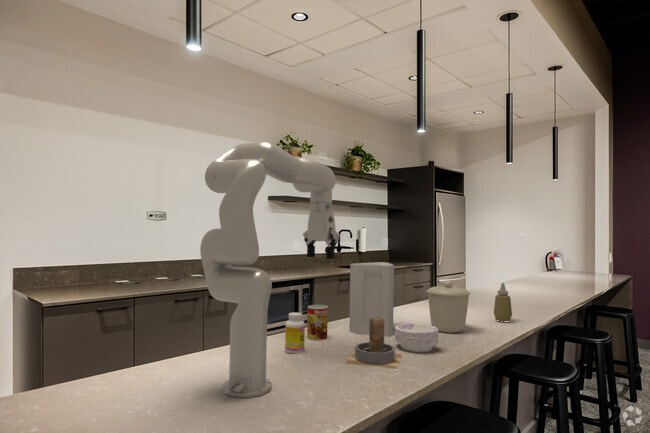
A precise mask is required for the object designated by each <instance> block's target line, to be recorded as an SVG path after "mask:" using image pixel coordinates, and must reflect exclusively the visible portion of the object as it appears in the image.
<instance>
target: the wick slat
mask: <svg viewBox="0 0 650 433" xmlns="http://www.w3.org/2000/svg"><path fill="white" fill-rule="evenodd" d="M368 336H369V339H368V341H369V352H375V351H378V350H382V349H384V343H385V336H384V318H379V317H377V318H373V319H370V326H369V335H368Z"/></svg>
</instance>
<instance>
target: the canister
mask: <svg viewBox="0 0 650 433" xmlns="http://www.w3.org/2000/svg"><path fill="white" fill-rule="evenodd" d="M425 292H426V293H427V296H428V297H427V298H428V308H429V317H430V323H431V326H434V327H436V328H438V331H439V332H441V333H447V334H453V333H454V334H456V333H461V332H462V331H464V329H465V327H466V321H467V313H468V308H469V307H468V305H469V297H470V295H471V292H470V291H468V290H467V289H465V288H462V287H459V286H453V281H451V280H445V281H444V282H443V286H442V285H441V286H440V285H439V286H437V285H436V286H432V287H430V288H428V289H426V291H425Z"/></svg>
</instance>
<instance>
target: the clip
mask: <svg viewBox="0 0 650 433" xmlns="http://www.w3.org/2000/svg"><path fill="white" fill-rule="evenodd" d="M363 351H367V352H369V347H368V348H365V349H363ZM375 352H376V353H379V352H387V349H382V350H378V351H375Z"/></svg>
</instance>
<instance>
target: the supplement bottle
mask: <svg viewBox="0 0 650 433" xmlns="http://www.w3.org/2000/svg"><path fill="white" fill-rule="evenodd" d="M302 318H303V314H302V312H289V313H288V320H287V321H286V322H285V331H284V332H285V336H284V337H285V338H284V340H285V342H284V348H285V349H284V350H285V352H287V353H288V354H297V353H298V354H299V353H302V352H304V351H305V335H306V334H305V333H306V332H305V331H306V330H305V328H306V324H305V321H303V320H302Z"/></svg>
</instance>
